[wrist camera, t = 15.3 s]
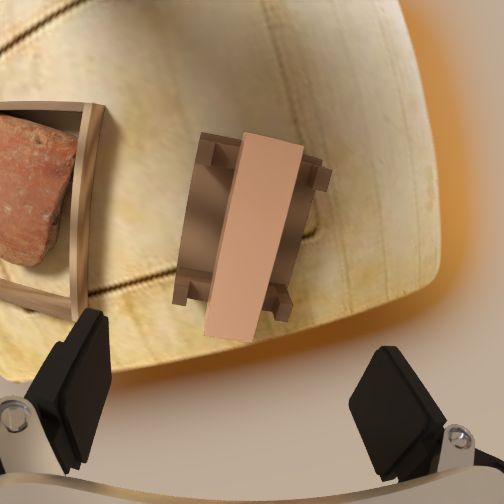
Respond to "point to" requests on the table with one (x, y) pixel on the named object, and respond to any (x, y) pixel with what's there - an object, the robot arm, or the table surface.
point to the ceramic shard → (32, 187)
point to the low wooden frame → (78, 219)
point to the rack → (212, 218)
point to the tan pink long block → (251, 235)
